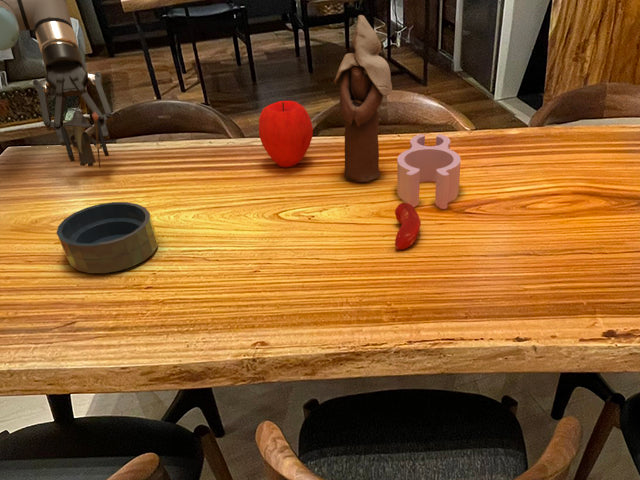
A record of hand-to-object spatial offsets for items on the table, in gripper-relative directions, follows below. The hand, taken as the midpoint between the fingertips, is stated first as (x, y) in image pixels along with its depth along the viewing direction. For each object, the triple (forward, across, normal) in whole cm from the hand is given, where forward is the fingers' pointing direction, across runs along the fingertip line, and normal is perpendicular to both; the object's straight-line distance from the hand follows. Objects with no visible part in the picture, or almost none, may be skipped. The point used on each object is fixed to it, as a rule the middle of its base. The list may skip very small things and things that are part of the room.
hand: (89, 155), depth 131 cm
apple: (+10, -41, +2) cm, 42 cm away
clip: (+26, -64, +18) cm, 72 cm away
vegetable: (+38, -52, +30) cm, 71 cm away
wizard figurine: (0, 0, -5) cm, 5 cm away
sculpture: (+19, -55, +11) cm, 59 cm away
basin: (+27, -1, +18) cm, 33 cm away
